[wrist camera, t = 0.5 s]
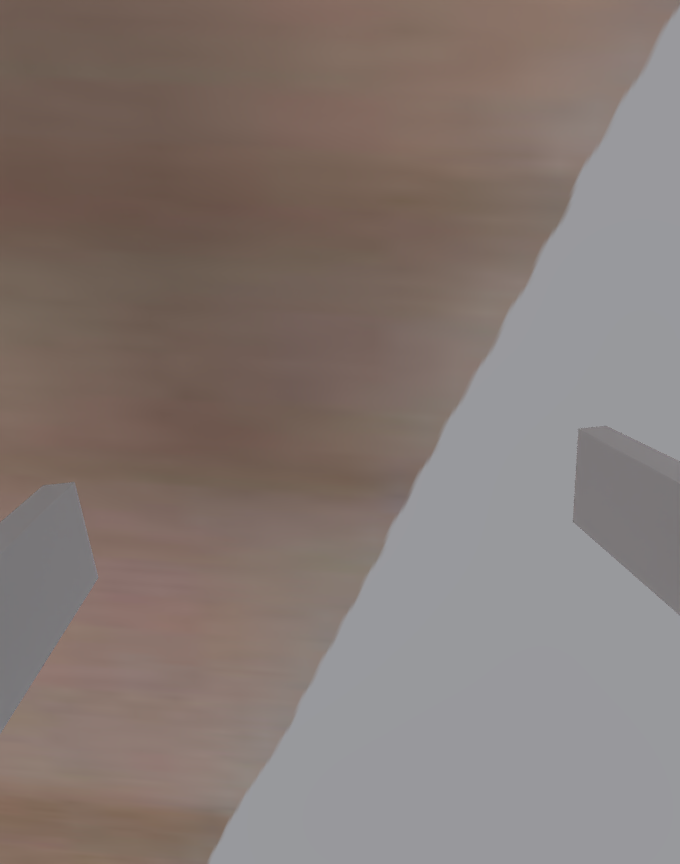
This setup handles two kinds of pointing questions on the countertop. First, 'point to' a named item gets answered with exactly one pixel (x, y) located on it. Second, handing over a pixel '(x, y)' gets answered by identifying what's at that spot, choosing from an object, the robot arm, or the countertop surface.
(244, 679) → the countertop surface
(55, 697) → the countertop surface
